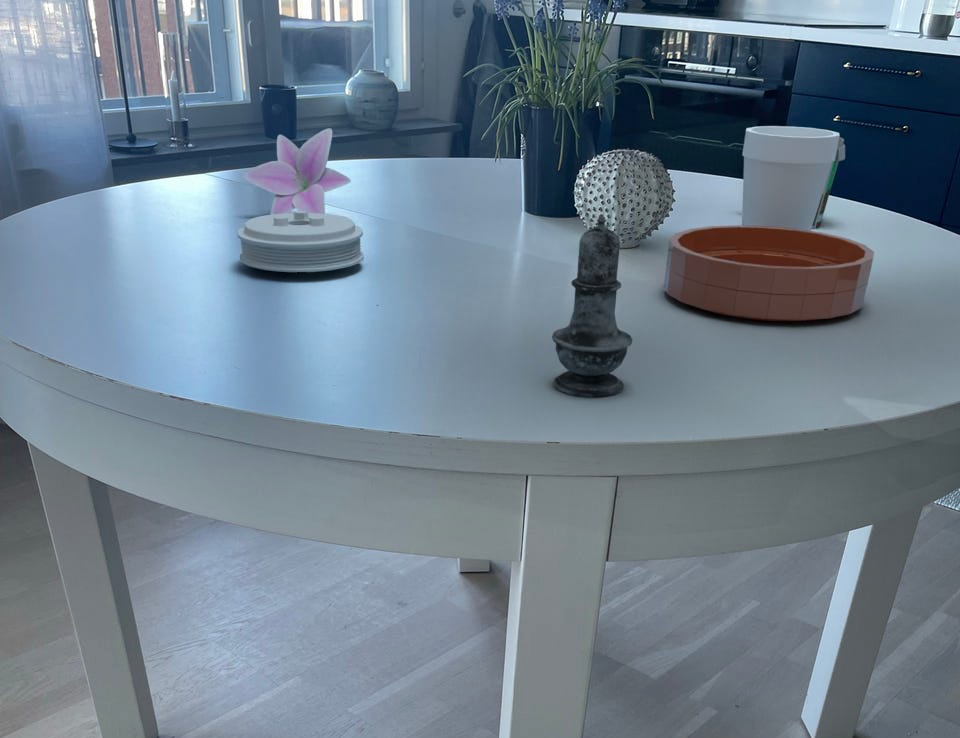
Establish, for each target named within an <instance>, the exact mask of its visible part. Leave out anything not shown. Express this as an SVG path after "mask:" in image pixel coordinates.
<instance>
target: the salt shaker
mask: <svg viewBox="0 0 960 738" xmlns="http://www.w3.org/2000/svg"><path fill="white" fill-rule="evenodd" d="M596 222H597V225H595V226H594V227H593V228H591V229H588V230H586V231H585V232H584V233H583V234H582V235H581V237H580V239H579V245H578V258H577V259H578V260H577V273H576V274H577V275H576V276H577V277H576V278H575V279H574V278H573V279H572V281H571V286H572V287H574V289H575V290H574V299H573V300H574V302H573V311H572V315H571V318H570V321H569V324H568V325H567V326H565V327H562V328H559V329H557V330H555V331H554V332H553V333H552V335H551V339H552V341H553V342H554V343H555V352H556V355H557V358H558V361H559V363H560V364H561V365H562V366H563V367H564V368H565V369H566V371H564V372H562V373H561V374H560V375H558V376H556V377H555V378H554V379H553V381H552V385H553V387H554V388H555V389H556V390H558V391H559V392H561V393H564V394H568V395H572V396H577V397H583V398H584V397H586V398H601V397H603V398H604V397H609V396H614V395H616V394H619V393H621V392H622V391H623V390H624V387H625V384H624V382H623V381H622V380H621V379H620V378H618V377H617V376H616V375H614V374H612V373H613V372H614V371H615V370H617V369H618V368H619V367H620V366H621V365H622V364H623V362H624V360H625V358H626V355H627V354H628V348H629V347H630V346H631V345H632V343H633V340H634V339H633V337H632V336H631V335H630V334H629V333H628V332H625V331H623V330H621V329H620V328H619V327H618V326H617V319H616V302H617V295H618V294H617V292H618V291H619V289H621V288H622V283H621V282H620V281H619V280H618V267H619V260H620V259H619V258H620V249H621V247H620V246H621V240H620V238H619V235H618V234H617V233H616V232H614V231H613V230H611V229H609V228H608V227H607V226H605V223H606V222H607V219H606V217H605V216H604V214H602V213H601V214H600V215H599V216H598V219H596Z"/></svg>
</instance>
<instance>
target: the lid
mask: <svg viewBox="0 0 960 738" xmlns="http://www.w3.org/2000/svg"><path fill="white" fill-rule="evenodd" d="M236 234H237V235H236V236H237V238H238V239H240V245H241V253H240V255H239V261H240V262H241V263H242V264H244V265H245V266H248V267H251V268H255V269H259V270H264V271H269V272H270V271H272V272H284V273H297V272H307V273H315V272H326V271H335V270H339V269H344V268H348V267H353V266H355V265H358V264H359V263H361V262H363V260H364V259H365V258H364V257H365V254H364V252H363V251H362V248H361V247H362V245H361V238H362V237H363V235H364V231H363V228H361V226H359V225H356V223H355V221H354V220H353V219H351V218H348V217H345V216H342V215H337V214H332V213H331V214H330V213H325V214H322V213H308V212H307V211H298V210H295V211H293V212H289V213H282V214H272V215H271V214H266V215H261V216H255V217H253V218H250V219H248V220H246V221H245V222H244V224H243V226H242V227H240V228H239V229H237V231H236Z"/></svg>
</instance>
